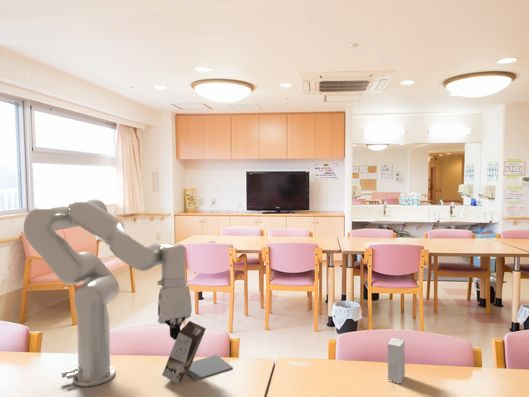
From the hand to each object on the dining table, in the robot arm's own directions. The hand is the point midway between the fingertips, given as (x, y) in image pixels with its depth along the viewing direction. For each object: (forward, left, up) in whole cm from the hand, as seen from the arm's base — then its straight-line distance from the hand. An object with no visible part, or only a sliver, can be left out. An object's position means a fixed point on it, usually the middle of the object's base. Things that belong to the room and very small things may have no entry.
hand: (175, 338), depth 121 cm
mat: (+11, 0, -13) cm, 17 cm away
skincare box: (+58, -42, -13) cm, 73 cm away
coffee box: (0, 0, -12) cm, 12 cm away
